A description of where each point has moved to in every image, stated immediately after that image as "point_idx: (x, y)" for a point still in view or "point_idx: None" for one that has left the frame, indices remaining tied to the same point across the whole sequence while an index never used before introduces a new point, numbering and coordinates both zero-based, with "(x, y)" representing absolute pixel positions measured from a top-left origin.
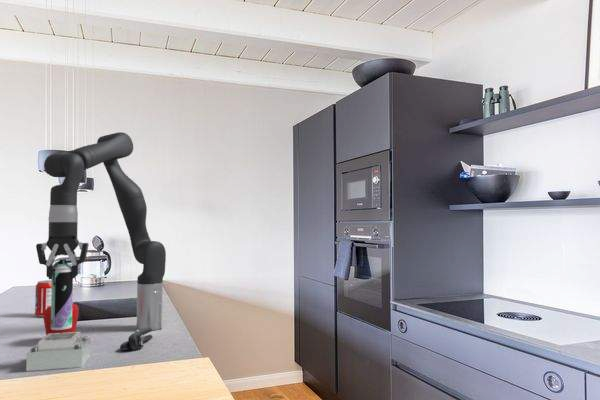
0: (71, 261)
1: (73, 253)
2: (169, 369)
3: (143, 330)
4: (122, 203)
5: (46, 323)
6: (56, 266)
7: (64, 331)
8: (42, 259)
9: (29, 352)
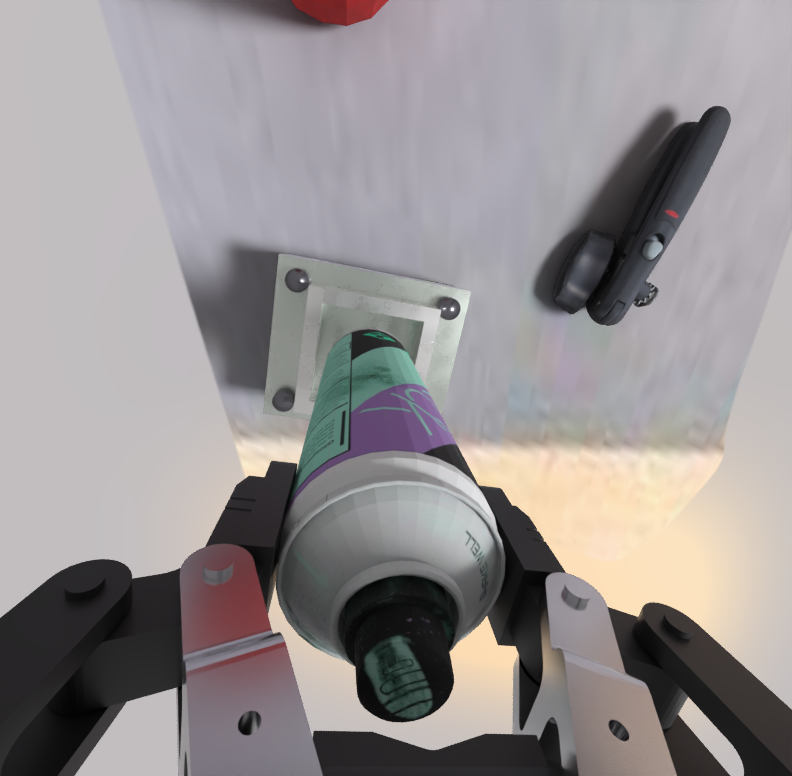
0: (516, 705)
1: (624, 758)
2: (620, 513)
3: (679, 221)
4: None
5: None
6: (326, 638)
7: (356, 11)
8: (80, 747)
9: (271, 412)
